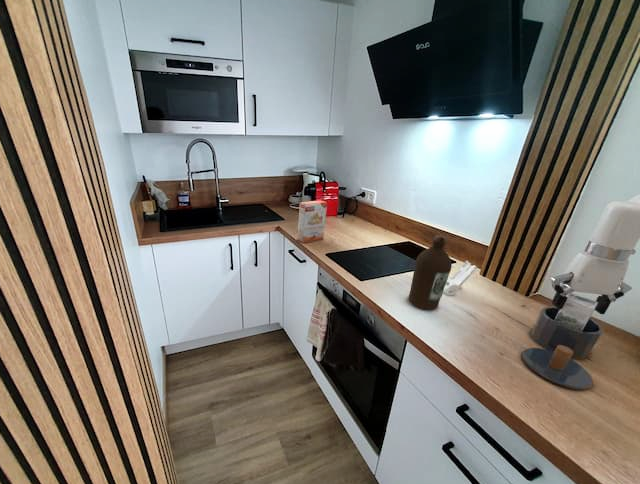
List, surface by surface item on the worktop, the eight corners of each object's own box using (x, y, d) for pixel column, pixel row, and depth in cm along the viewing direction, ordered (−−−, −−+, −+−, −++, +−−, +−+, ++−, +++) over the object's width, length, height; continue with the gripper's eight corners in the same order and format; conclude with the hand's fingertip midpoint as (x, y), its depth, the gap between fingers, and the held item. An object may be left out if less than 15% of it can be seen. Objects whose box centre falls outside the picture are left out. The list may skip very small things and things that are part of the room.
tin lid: (565, 355, 78) (576, 335, 75) (606, 396, 66) (620, 374, 63) (511, 347, 80) (519, 328, 78) (540, 385, 68) (552, 364, 66)
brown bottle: (400, 299, 102) (415, 233, 92) (419, 292, 107) (436, 229, 97) (426, 314, 94) (445, 244, 84) (446, 307, 98) (467, 239, 89)
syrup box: (575, 344, 82) (599, 301, 76) (569, 351, 79) (594, 307, 73) (550, 333, 86) (571, 291, 80) (543, 340, 83) (565, 297, 77)
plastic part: (433, 285, 113) (440, 258, 108) (455, 284, 114) (463, 257, 109) (445, 295, 106) (453, 267, 101) (469, 293, 107) (478, 266, 102)
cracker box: (303, 243, 151) (305, 204, 142) (296, 239, 155) (299, 202, 147) (324, 239, 157) (327, 202, 149) (317, 236, 162) (320, 199, 154)
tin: (567, 333, 87) (580, 309, 84) (600, 362, 76) (616, 337, 73) (522, 327, 89) (532, 304, 86) (547, 354, 78) (560, 329, 75)
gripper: (634, 249, 73) (602, 305, 80) (557, 242, 76) (532, 297, 83) (664, 261, 66) (626, 321, 73) (577, 253, 69) (549, 312, 76)
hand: (576, 308), depth 78 cm, fingers open, 9 cm apart
